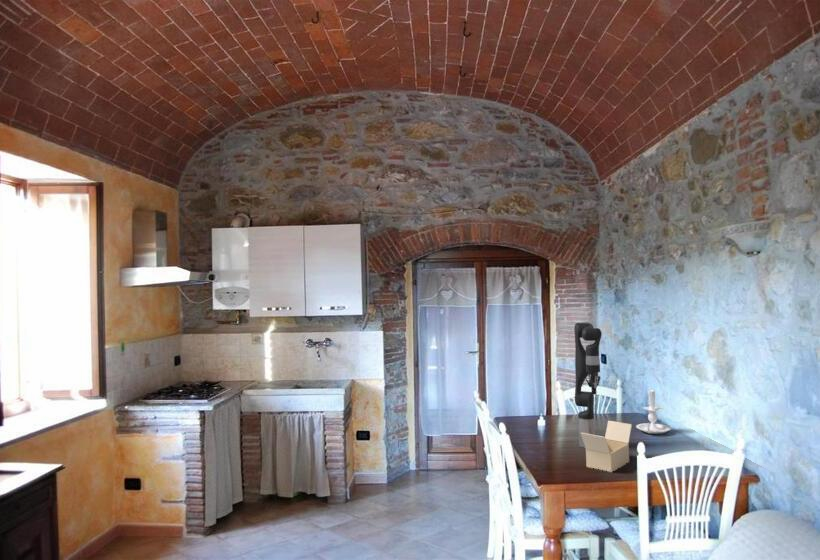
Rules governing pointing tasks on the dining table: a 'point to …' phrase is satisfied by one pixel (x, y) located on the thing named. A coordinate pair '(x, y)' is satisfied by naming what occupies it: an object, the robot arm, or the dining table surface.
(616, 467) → the carton
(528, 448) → the dining table surface
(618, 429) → the back flap
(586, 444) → the front flap
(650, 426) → the candlestick
